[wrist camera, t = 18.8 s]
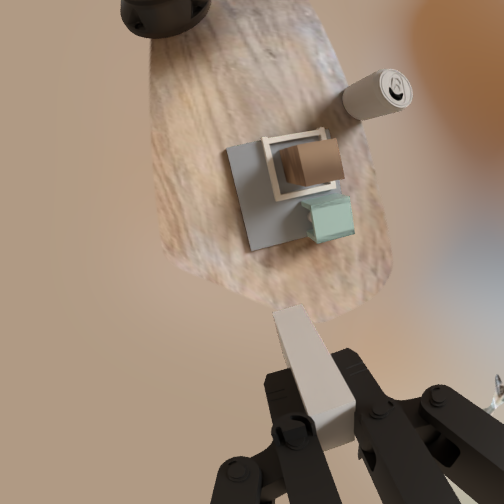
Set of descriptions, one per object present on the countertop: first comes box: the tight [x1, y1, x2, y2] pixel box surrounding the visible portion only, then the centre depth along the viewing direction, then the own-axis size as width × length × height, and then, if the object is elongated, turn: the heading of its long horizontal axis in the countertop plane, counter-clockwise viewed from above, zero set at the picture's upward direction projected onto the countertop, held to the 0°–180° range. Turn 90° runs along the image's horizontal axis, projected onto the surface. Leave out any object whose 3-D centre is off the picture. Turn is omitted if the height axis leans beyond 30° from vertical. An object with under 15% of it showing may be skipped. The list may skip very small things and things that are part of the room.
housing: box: [301, 193, 355, 244], centre depth 41 cm, size 6×6×5 cm
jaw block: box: [279, 138, 345, 187], centre depth 36 cm, size 5×5×10 cm
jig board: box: [226, 127, 342, 251], centre depth 41 cm, size 16×16×3 cm
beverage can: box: [342, 69, 413, 120], centre depth 34 cm, size 6×6×12 cm
